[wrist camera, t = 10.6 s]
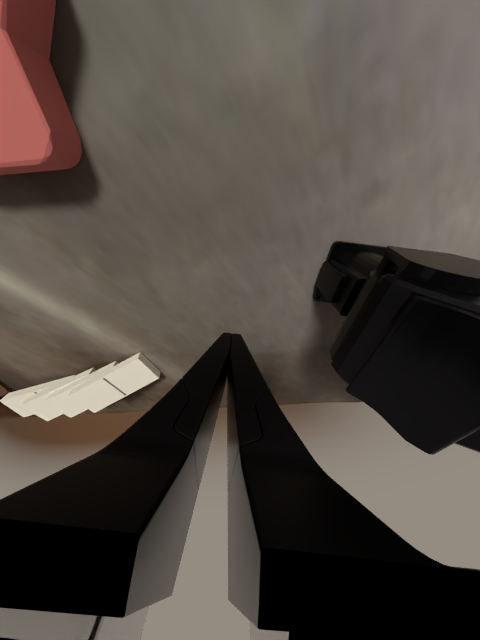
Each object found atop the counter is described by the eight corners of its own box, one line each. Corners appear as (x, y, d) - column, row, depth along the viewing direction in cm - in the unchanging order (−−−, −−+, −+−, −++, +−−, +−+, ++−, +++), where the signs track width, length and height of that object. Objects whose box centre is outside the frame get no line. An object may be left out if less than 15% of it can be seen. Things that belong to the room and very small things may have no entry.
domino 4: (68, 382, 31) (-1, 401, 31) (87, 399, 33) (23, 417, 33) (74, 374, 32) (8, 392, 32) (92, 392, 35) (31, 409, 35)
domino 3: (88, 374, 29) (19, 406, 29) (110, 391, 32) (47, 421, 32) (93, 367, 31) (27, 397, 30) (113, 384, 33) (53, 412, 33)
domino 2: (112, 367, 28) (42, 402, 28) (134, 386, 31) (70, 418, 30) (116, 360, 30) (50, 393, 29) (136, 378, 32) (75, 409, 32)
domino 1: (137, 358, 27) (66, 396, 27) (159, 378, 29) (94, 413, 29) (140, 351, 28) (73, 387, 28) (160, 371, 31) (98, 404, 31)
